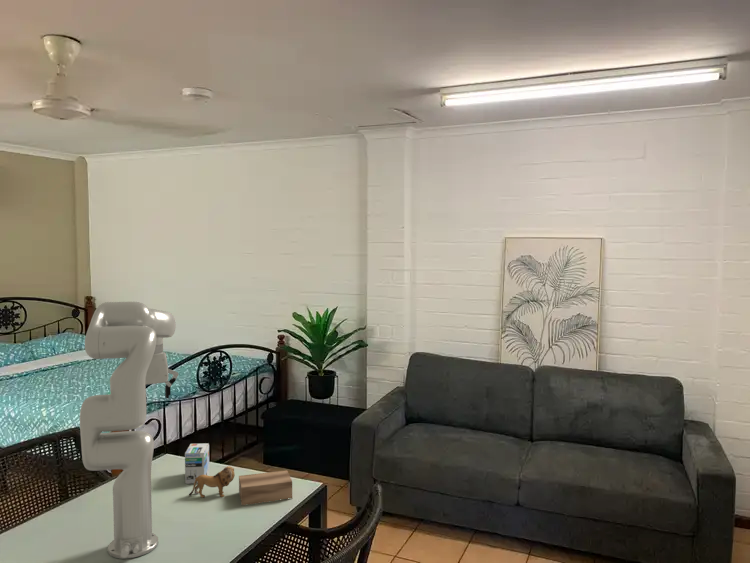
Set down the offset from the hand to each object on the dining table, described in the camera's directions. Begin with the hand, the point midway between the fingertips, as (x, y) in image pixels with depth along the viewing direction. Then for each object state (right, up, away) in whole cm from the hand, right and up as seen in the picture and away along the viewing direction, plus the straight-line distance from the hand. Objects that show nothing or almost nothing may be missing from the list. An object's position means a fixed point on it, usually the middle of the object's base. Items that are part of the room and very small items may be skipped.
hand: (152, 399), depth 199 cm
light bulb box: (+13, -29, +8) cm, 33 cm away
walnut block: (+40, -30, -7) cm, 50 cm away
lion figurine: (+23, -30, -6) cm, 38 cm away
